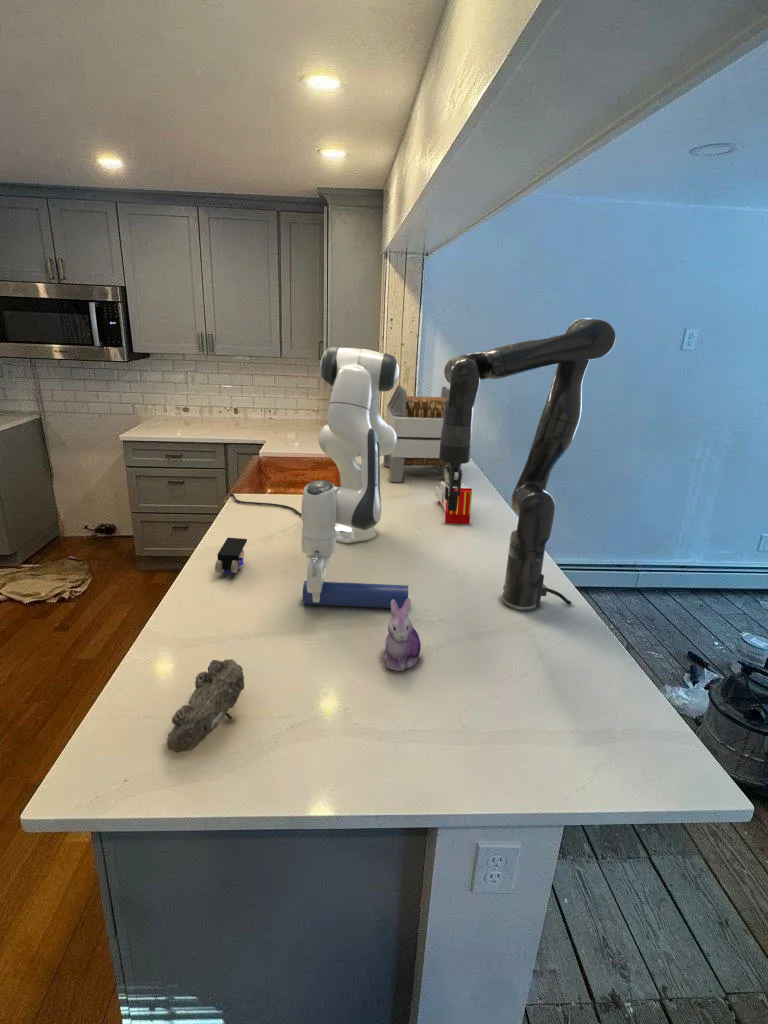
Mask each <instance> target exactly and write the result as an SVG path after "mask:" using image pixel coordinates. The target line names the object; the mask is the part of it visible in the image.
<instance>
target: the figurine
mask: <svg viewBox="0 0 768 1024" xmlns="http://www.w3.org/2000/svg"><path fill="white" fill-rule="evenodd" d="M411 603H412V601H411V598H410V597H408V599H406V600H405V602H404V603H403V605H402V607H401V608H399V607H398V605H397V603H396V601H395V600H394V599H393V600H392V601H391V608H390V615H391V616H390V619H389V621H388V623H387V632H388V634H387V636H386V639H385V641H386V642H385V650H384V651H385V652H384V656H383V659H384V661H385V664H386V667H387V669H388V670H393V671H399V672H400V671H404V670H406V669H411V668H413V667H414V666H415V665H416V664H417V663H418V661H419V659H420V653H421V649H422V644H421V639H420V636H419V633H418V632H417V630H416V629H415V627H414V626H413V623H412V621H411V619H410V617H409V614H410V613H409V612H410V609H411Z"/></svg>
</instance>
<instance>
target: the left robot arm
mask: <svg viewBox="0 0 768 1024" xmlns="http://www.w3.org/2000/svg"><path fill="white" fill-rule="evenodd" d="M319 371H320V376H321V378H322V379H323V381H324V382H325V383H327V384H329V386H331V387H332V389H331V393H330V396H329V403H328V409H327V418H326V419H327V420H326V421H327V424H325V425H323V427H321V429H320V431H319V434H318V444H319V447H320V449H321V450H322V452H323V453H324V454H325V455H326V456H328V457H329V458H330V459H331V460H332V461H333V462H334V464H335V465H336V467H337V470H338V474H339V483H340V484H339V485H340V486H337V485H334V484H333V483H332V482H331V481H329V480H326V479H325V480H324V479H317V480H313V481H310V482H308V483H307V484H306V485H305V486H304V488H303V492H302V498H301V509H300V510H301V512H299V510H297V509H296V508H294V507H292V506H288V505H284V504H279V503H270V502H257V501H244V500H239V499H237V498H236V496H235V493H233V492H232V493H230V495H229V497H232V498H233V500H234V501H235V502H236V503H240V504H249V505H261V506H275V507H282V508H286V509H289V510H292V511H293V512H294V513H296V514H297V515H299V516H300V517H301V521H302V529H301V552H302V554H304V555H305V556H306V558H307V560H308V562H307V569H306V581H307V592H308V593H312V596H313V602H317V603H318V602H320V593H321V592H322V587H323V584H324V582H325V579H326V576H327V572H328V568H329V563H330V559H331V557H332V555H333V554H335V553H336V551H337V542H339V543H343V544H352V543H357V542H365V541H368V540H372V539H373V538H375V537H376V535H377V532H376V528H375V526H376V525H377V524H378V523H379V522H380V520H381V516H382V499H381V497H382V496H381V481H380V480H381V477H380V476H381V473H380V471H381V470H380V469H381V465H380V464H381V463H380V457H384V455H389V454H391V453H392V452H393V451H394V449H395V448H396V445H397V435H396V432H395V430H394V429H393V428H392V427H391V426H390V425H388V424H387V423H386V420H384V419H383V417H382V416H381V414H380V392H381V393H382V392H389V391H391V390H393V389H394V387H395V385H396V384H397V382H398V379H399V375H400V368H399V364H398V359H397V358H396V357H395V356H394V355H393V354H390V353H387V352H384V353H383V352H379V351H376V350H373V349H367V348H356V347H340V346H338V345H336V346H329V347H327V348H326V349H325V350H324V352H323V354H322V355H321V358H320V362H319ZM357 457H360V458H361V464H360V463H359V462H357V461H356V458H357Z"/></svg>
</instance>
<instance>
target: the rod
mask: <svg viewBox="0 0 768 1024" xmlns="http://www.w3.org/2000/svg"><path fill="white" fill-rule="evenodd" d="M301 597H302V604H303V605H315V606H316V605H317V606H337V607H339V606H340V607H357V608H358V607H360V608H382V609H391V601H392V600H393V599H394V600H395V601H396V603H397V605H398V607H399V608H401V607H402V605H403V603H404V602H405V600H406V599H408V598H409V585H406V584H383V583H365V582H364V583H363V582H362V583H361V582H342V581H340V582H339V581H324V584H323V587H322V592H321V593H320V602H318V603H317V602H313V596H312V593H308V592H307V580H304V581H303V585H302V595H301Z"/></svg>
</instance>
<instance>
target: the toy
mask: <svg viewBox="0 0 768 1024" xmlns="http://www.w3.org/2000/svg"><path fill="white" fill-rule="evenodd" d="M445 487H446V485H445V481H440V487H439V486H438V485H435V491H434V497H435V498H436V499H437V503H438V504H439V505H440V506H441V508H443V510H444V511H445V515H444V524H448V525H449V524H451V525H470V522H471V521H470V520H471V515H472V513H471V512H472V497H473V489H472V488H471V487H470V488H469V487H468V486H467V485H465V484H464V483H463V482H462V481H461V489H460V496H459V497H458V502H457V510H456V511H449V510H448V500H446V499H445ZM454 491H457V489H456V488H454Z"/></svg>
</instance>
